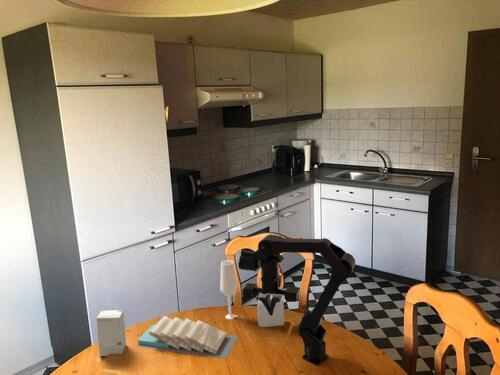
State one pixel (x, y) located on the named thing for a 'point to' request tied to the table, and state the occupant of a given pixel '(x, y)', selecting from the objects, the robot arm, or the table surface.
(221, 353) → the domino board
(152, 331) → the domino
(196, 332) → the domino
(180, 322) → the domino
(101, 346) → the skincare box
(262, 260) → the robot arm
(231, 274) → the champagne flute
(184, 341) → the domino
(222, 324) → the table surface
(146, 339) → the domino
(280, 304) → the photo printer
